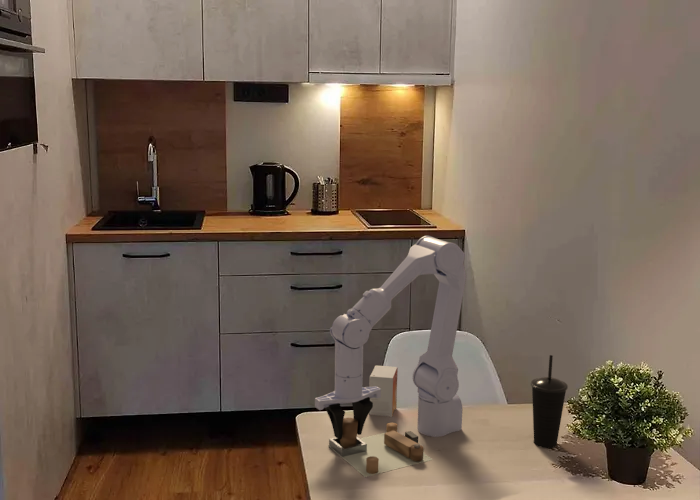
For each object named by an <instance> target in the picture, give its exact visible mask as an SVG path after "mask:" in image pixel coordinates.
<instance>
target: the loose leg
mask: <svg viewBox="0 0 700 500" xmlns="http://www.w3.org/2000/svg"><path fill="white" fill-rule="evenodd" d="M357 429H358V420H356V419H354V417H344V419H343V435H342V439H340V446H342V447H343V448H346V447H350V446H354V445H356V441H357V437H358V434H357Z"/></svg>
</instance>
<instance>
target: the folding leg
mask: <svg viewBox="0 0 700 500" xmlns="http://www.w3.org/2000/svg"><path fill="white" fill-rule="evenodd" d="M383 433H384V444H385V445H387V446H389V447H390V448H392V449H394V450H396V451H397V452H399V453H401V454H402V455H404V456H406V457H408V458H410V459H411V460H413V461H421V460H423V453H424V449H425V448H424V446H423V445H421V444H420V443H419V442H418V443H416V442H414V441H412V440H411V439H409V438H407V437H405V435H404V434H401V433H399V432H398V431H397V432H396V431H394V430H393V431H390V432H387V433H386V432H383Z"/></svg>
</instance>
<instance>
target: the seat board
mask: <svg viewBox="0 0 700 500" xmlns="http://www.w3.org/2000/svg"><path fill="white" fill-rule="evenodd" d="M385 430H386V431H385V432H383V433H381V432H380V433H377V434H373V435H369V436H364V437H361V438H360V437H359V438H360V439H361V440H362V441H364V442H365V443H366V444H367V451H365V452H361V453H357V454H353V455H349V456H345V457H342V456H340V455H339V454H338V453H337V452H336V451H334V450H333V449H332V448H331V447H330V446H329V445H328V447H329V448H330V449H331V450H333V451H334V452H335V454H336V455H338V456H340V457H341V458H342V459H343V460H344V461H346V462H347V463H348V464H349V465H350V466H351V467H352V468H353V469H355V470H356V472H358V473H359V474H360V475H362V476H363V477H364V478H367V477H371V476H375V475H379V474H383V473H386V472H392V471H394V470H399V469H403V468H406V467H407V468H408V467H409V466H415V465H418V464H422V463H426V462H430V461H434V459H433V458H431V457H430V455H427V454H426V453H424V452H423V460H421V461H413V460H411V459H410V458H408V457H406V456H404V455H402V454H401V453H399V452H397V451H396V450H394V449H392V448H390V447H389V446H387V445H385V444H384V433H387V432H390V431H393V430H394V431H396V432H398V424H397V423H396V422H388V423H386V429H385ZM404 436H405V437H407V438H409V439H411V440H412V441H414V442H416V443H418V444H419V435H417V434H416V433H414V432H413V431H411V430H408V431H405V432H404Z"/></svg>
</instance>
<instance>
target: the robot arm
mask: <svg viewBox="0 0 700 500" xmlns="http://www.w3.org/2000/svg"><path fill="white" fill-rule="evenodd" d="M465 257H466V253H465V252H464V251H463V250H462V249H461V248H460V246H459V245H458V244H457V243H456V242H455V243H454V242H451V241H450V242H449V241H445V240H443V239H438V238H436V237H434V236H431V235H424V236H422V237H420V238H419V239H418V240H417V241H416V242H415V244H413V245H412V246H411V247H409V250H408V254H407V256H406V257H405V258H404V259H403V260H402V261H401V263H399V265H398V266H397V267H396V269H394V271H393V272H392V273H391V274H390V276H388V278H387V279H386V280H385V281H384V282H383V284H382V285H381V286H380V287H378V288H371V289H369V290H365V291H364V293H362V297H361V298H360V299H359V300H358V301H357V302H356V303H355V304H354V306H352V307H351V308H348V310H347V311H346V313H343V315H342V314H341V315H339V316H337V317H336V318H335V319H334V320H333V322H332V324H331V327H330V328H329V333H330V335H331V337H332V338H333V340H334V350H335V351H334V390H333V391H331V392H329V393H327V394H324V395H321V396H318V397H315V398H314V407H315V408H316V409H317V410H319V411H321V410H324V409H325V411H326V413H327V415H328V417H329V421H330V422H331V426H332V429H333V434H334V435H333V436H334V438H335V437H336V438H338V439H342V435H343V419H344V418H345V414H346V411H345V410H344V409H343V408H342V406H341V405H345V404H350V403H352V404H351V405H352V414H353V418H354V419H356V420H358V429H357V436H358V435H359V436H360V435H362V432H363V430H364V426H365V423H366V419H367V417H368V416H369V412H370V410H371V409H372V408H373V402H371V401H370V398H374V397H375V398H381V389H380V388H378V387H377V386H374V387H369V386H365V387H364V386H363V378H364V377H363V375H364V370H363V369H364V344H366V343H368V340H369V338H370V333H371V331H372V330H373V329H372V328H373V327H374V326H375V325H376V324H377V323H378V322H379V321H381V319H382V318H383V317H384V316H385V315H386V314H387V313H388V312H389V311H390V310H391V309H392V300H393V299H394V298H396V296H398V294H399V293H400V292H402V291H403V290H404V289H405V288H406V287H407V286H408V285H410V284H411V283H412V282H413V281H414V280H416V279H417V277H419V276H421V275H422V276H423V275H433V276H434V277H435V278H436V279H437V281H438V282H439V283H438V287H437V293H436V298H435V303H434V305H435V306H434V311H433V317H432V322H431V327H430V332H429V339H428V344H427V345H428V346H427V350H426V351H425V352H424V353H422V354H421V355H419V359H418V361H417V362H418V363H417V365H416V367H415V369H414V371H413V373H412V381H413V384H414V386H415V387H416V388H417V393H418V394H417V395H418V396H417V397H418V401H417V427H416V428H417V432H418V433H420V434H422V435H425V436H428V437H435V438H437V437H443V436H447V435H449V434H451V433H454V432H455V433H456V432H458V431H461V430H462V429H463V427H462V425H463V403H462V400H461V398H460V397H459V395H458V394H457V393H458V390H459V387H460V384H459V379H458V373H459V368H458V366H457V364H456V361H455V360H454V358H453V353H454V349H455V348H454V347H455V343H456V342H455V341H456V337H457V330H458V326H459V319H460V315H461V309H462V304H463V303H462V302H463V299H464V292H465V287H466V281H467V273H466V270H465V264H464V263H465Z"/></svg>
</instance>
